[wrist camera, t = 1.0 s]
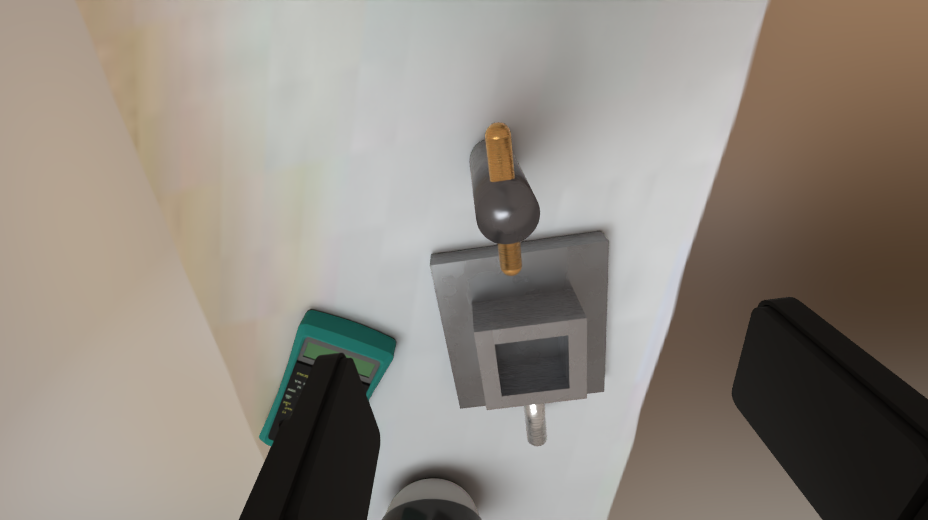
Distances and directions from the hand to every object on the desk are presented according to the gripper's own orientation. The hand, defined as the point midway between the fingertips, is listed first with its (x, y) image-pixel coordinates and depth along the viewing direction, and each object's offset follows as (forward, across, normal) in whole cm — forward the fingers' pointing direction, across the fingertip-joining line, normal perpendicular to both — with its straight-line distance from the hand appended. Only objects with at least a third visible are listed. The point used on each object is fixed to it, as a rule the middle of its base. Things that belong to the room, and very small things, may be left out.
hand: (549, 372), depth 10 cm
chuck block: (+18, -1, +14) cm, 23 cm away
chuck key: (+18, 0, 0) cm, 18 cm away
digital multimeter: (+19, +16, +17) cm, 30 cm away
